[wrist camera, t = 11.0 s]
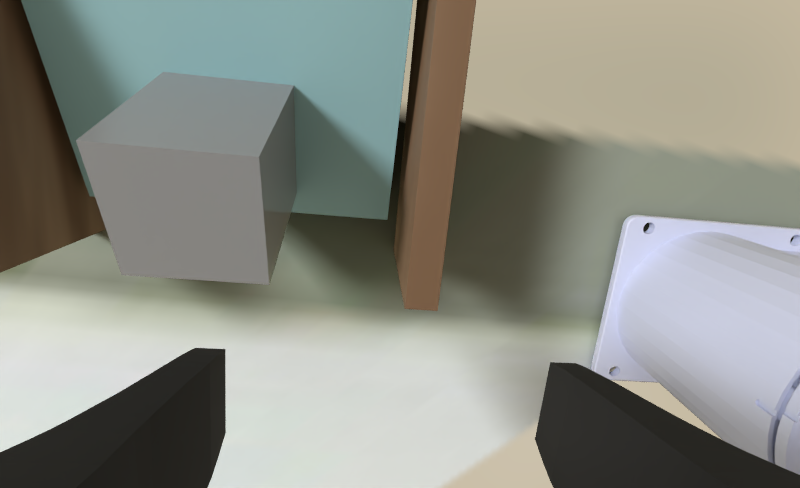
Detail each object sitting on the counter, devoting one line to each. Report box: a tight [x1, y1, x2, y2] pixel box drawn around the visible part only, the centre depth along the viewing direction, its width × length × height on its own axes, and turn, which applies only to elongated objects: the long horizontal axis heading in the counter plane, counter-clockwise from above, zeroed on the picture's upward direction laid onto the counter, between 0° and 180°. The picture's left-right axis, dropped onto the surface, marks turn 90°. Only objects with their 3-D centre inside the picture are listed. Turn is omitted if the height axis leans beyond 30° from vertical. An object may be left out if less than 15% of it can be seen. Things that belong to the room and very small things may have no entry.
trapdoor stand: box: [0, 0, 476, 311], centre depth 15 cm, size 14×14×6 cm
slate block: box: [76, 72, 297, 285], centre depth 13 cm, size 4×4×5 cm
